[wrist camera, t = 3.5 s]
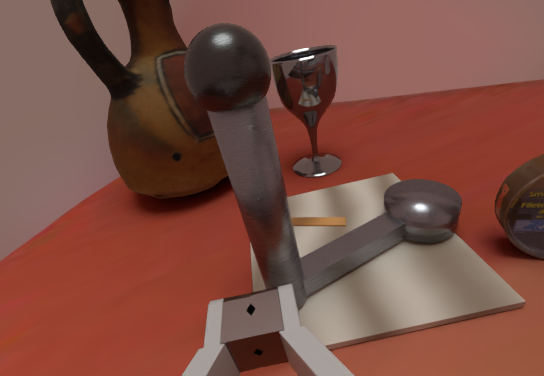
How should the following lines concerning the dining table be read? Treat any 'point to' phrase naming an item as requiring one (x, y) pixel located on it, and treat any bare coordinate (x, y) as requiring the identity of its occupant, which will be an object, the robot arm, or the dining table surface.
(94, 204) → the dining table surface
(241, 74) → the lever
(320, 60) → the silver goblet
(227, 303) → the robot arm
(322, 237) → the beige square panel
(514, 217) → the tin
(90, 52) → the ceramic pitcher
